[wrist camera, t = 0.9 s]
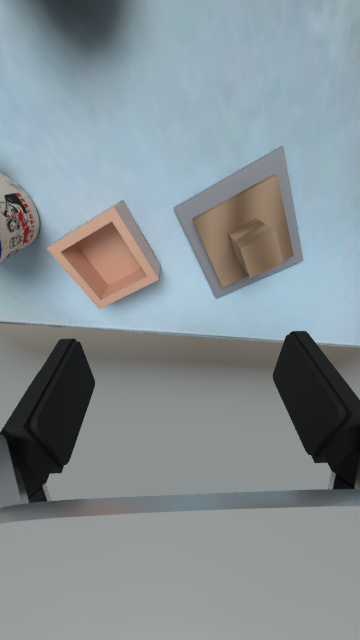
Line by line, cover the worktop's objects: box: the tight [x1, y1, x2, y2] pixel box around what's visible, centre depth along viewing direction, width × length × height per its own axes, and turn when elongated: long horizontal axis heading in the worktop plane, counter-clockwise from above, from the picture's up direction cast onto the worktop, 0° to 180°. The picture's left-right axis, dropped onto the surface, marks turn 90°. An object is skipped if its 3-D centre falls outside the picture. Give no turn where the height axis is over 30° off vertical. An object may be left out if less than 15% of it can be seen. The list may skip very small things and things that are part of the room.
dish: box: [47, 200, 160, 309], centre depth 28 cm, size 9×9×5 cm
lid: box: [192, 174, 294, 288], centre depth 26 cm, size 10×10×7 cm
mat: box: [174, 146, 303, 298], centre depth 29 cm, size 13×14×1 cm
